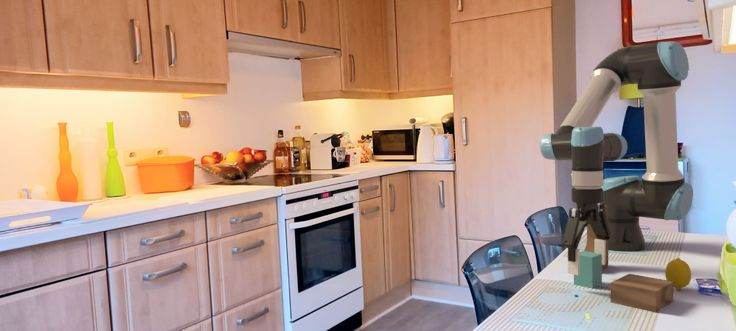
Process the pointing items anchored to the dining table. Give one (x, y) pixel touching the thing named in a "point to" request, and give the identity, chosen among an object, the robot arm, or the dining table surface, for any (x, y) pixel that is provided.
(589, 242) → the wooden block
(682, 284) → the lemon
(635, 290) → the walnut base block
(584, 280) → the teal block
